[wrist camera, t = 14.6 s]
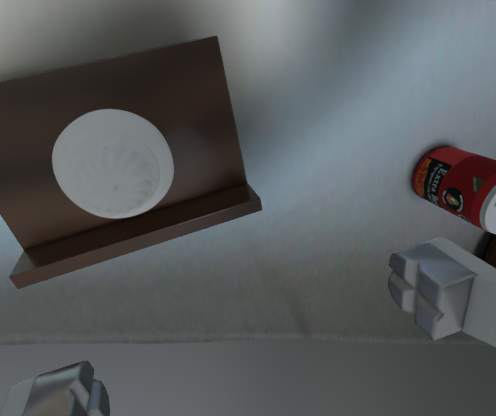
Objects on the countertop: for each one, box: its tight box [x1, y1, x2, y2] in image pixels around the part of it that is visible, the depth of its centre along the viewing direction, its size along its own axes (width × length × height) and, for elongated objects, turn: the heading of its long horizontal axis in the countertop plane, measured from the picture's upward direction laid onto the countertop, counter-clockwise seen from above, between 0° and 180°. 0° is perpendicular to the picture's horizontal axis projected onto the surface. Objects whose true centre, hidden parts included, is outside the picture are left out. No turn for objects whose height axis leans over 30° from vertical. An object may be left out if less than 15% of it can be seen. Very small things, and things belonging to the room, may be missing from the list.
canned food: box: [413, 147, 496, 234], centre depth 40 cm, size 8×8×11 cm
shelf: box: [0, 36, 262, 289], centre depth 24 cm, size 11×16×14 cm
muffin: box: [52, 109, 174, 218], centre depth 18 cm, size 6×6×7 cm
